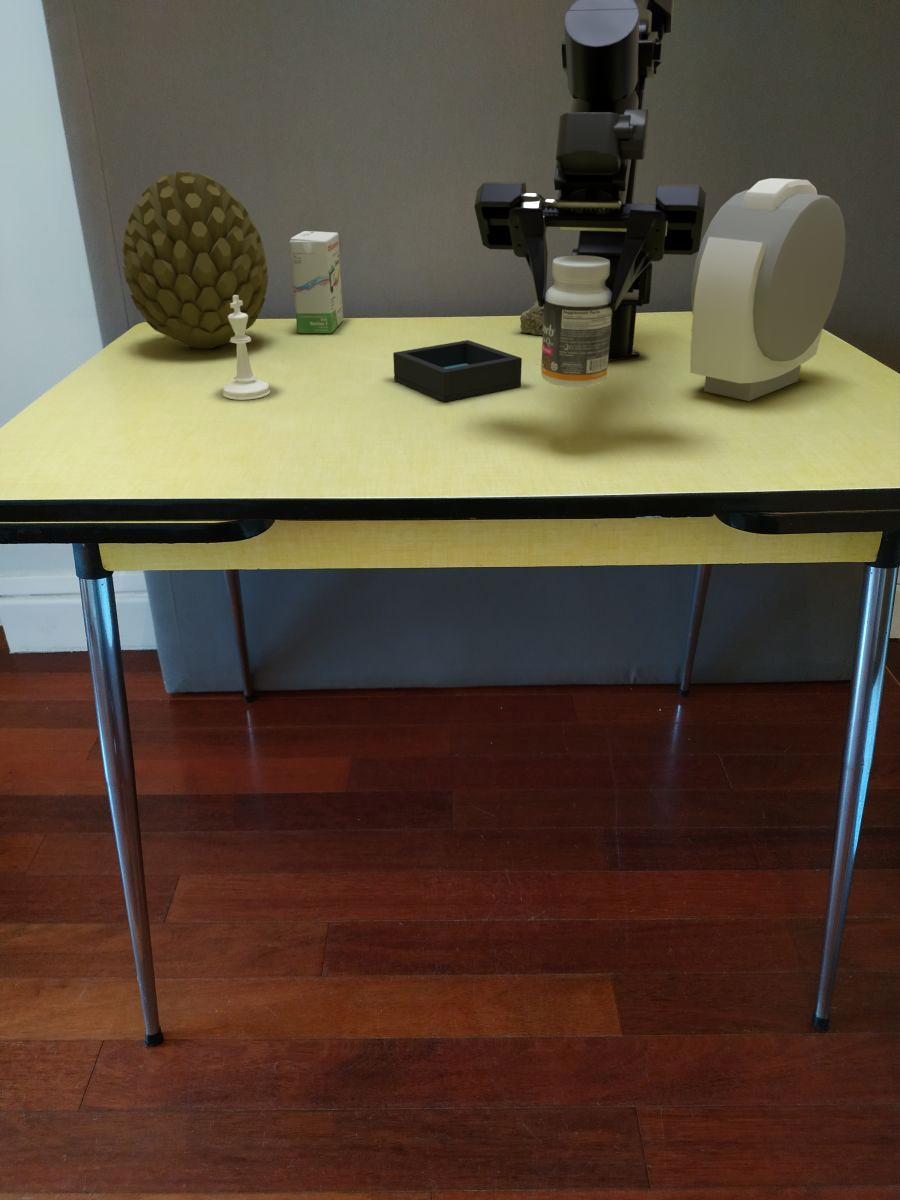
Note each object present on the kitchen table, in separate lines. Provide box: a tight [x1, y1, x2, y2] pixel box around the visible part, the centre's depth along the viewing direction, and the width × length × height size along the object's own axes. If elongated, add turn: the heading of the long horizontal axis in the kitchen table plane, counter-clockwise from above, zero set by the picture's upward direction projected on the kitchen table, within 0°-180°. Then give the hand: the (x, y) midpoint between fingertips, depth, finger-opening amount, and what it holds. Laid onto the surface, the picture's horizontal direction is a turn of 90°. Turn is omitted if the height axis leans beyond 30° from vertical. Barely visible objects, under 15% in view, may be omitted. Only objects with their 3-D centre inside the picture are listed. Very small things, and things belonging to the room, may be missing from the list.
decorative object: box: [122, 170, 269, 350], centre depth 110 cm, size 17×17×20 cm
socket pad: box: [392, 339, 523, 403], centre depth 99 cm, size 10×10×3 cm
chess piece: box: [222, 295, 271, 401], centre depth 94 cm, size 5×5×10 cm
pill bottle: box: [540, 255, 612, 389], centre depth 77 cm, size 6×6×10 cm
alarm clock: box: [689, 177, 846, 402], centre depth 93 cm, size 18×8×20 cm, turn 135°
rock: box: [519, 300, 544, 336], centre depth 120 cm, size 7×8×4 cm
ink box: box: [289, 230, 344, 334], centre depth 121 cm, size 8×5×12 cm, turn 175°
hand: (576, 305), depth 75 cm, fingers closed on pill bottle, 6 cm apart
